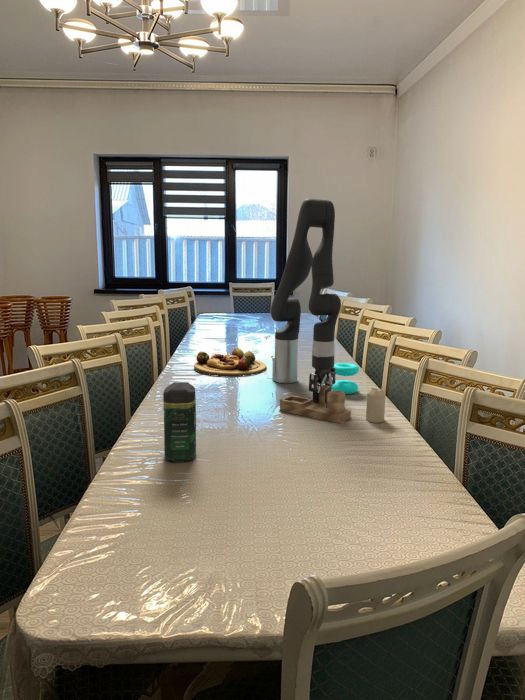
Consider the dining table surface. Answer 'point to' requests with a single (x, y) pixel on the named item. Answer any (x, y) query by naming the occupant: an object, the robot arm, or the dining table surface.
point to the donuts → (345, 370)
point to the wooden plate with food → (229, 364)
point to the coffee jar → (179, 421)
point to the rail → (318, 407)
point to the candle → (375, 405)
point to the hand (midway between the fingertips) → (322, 400)
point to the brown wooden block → (323, 394)
